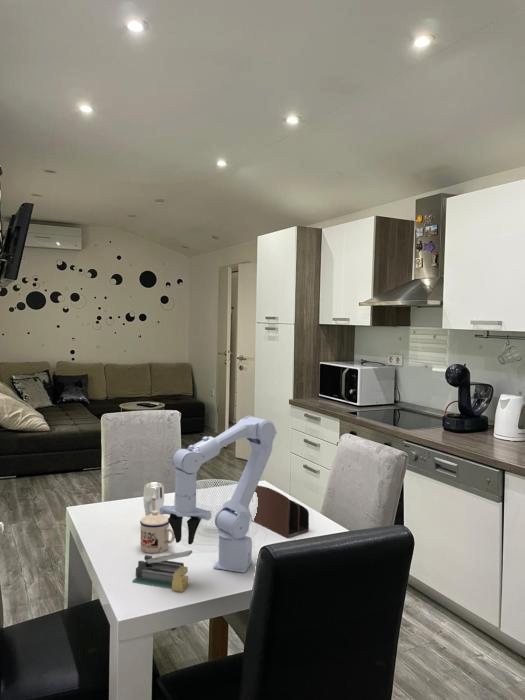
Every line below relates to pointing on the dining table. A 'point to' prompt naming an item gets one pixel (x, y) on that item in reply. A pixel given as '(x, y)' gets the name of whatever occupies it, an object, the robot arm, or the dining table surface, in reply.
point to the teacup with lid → (155, 533)
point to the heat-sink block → (159, 574)
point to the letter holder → (280, 513)
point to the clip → (180, 579)
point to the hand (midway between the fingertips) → (184, 542)
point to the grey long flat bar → (168, 557)
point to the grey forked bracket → (142, 566)
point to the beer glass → (153, 497)
